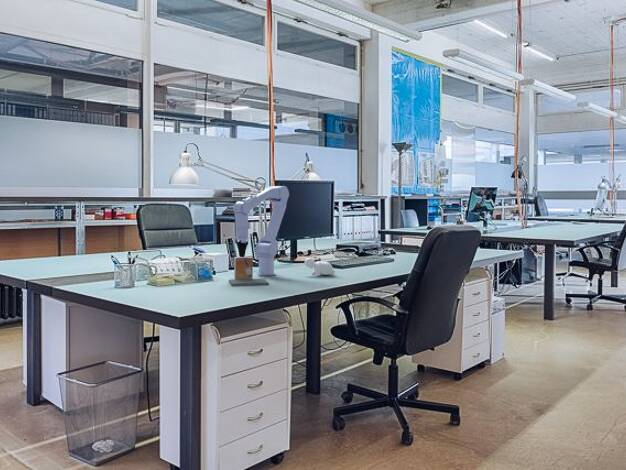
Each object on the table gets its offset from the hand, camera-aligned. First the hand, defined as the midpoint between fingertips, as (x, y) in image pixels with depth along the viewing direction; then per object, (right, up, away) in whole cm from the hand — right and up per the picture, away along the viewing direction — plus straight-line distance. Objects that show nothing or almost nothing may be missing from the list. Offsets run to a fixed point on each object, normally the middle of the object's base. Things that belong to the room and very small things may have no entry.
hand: (241, 257), depth 271 cm
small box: (+1, -11, -4) cm, 11 cm away
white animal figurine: (+36, -10, +12) cm, 39 cm away
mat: (+5, -11, -14) cm, 18 cm away
